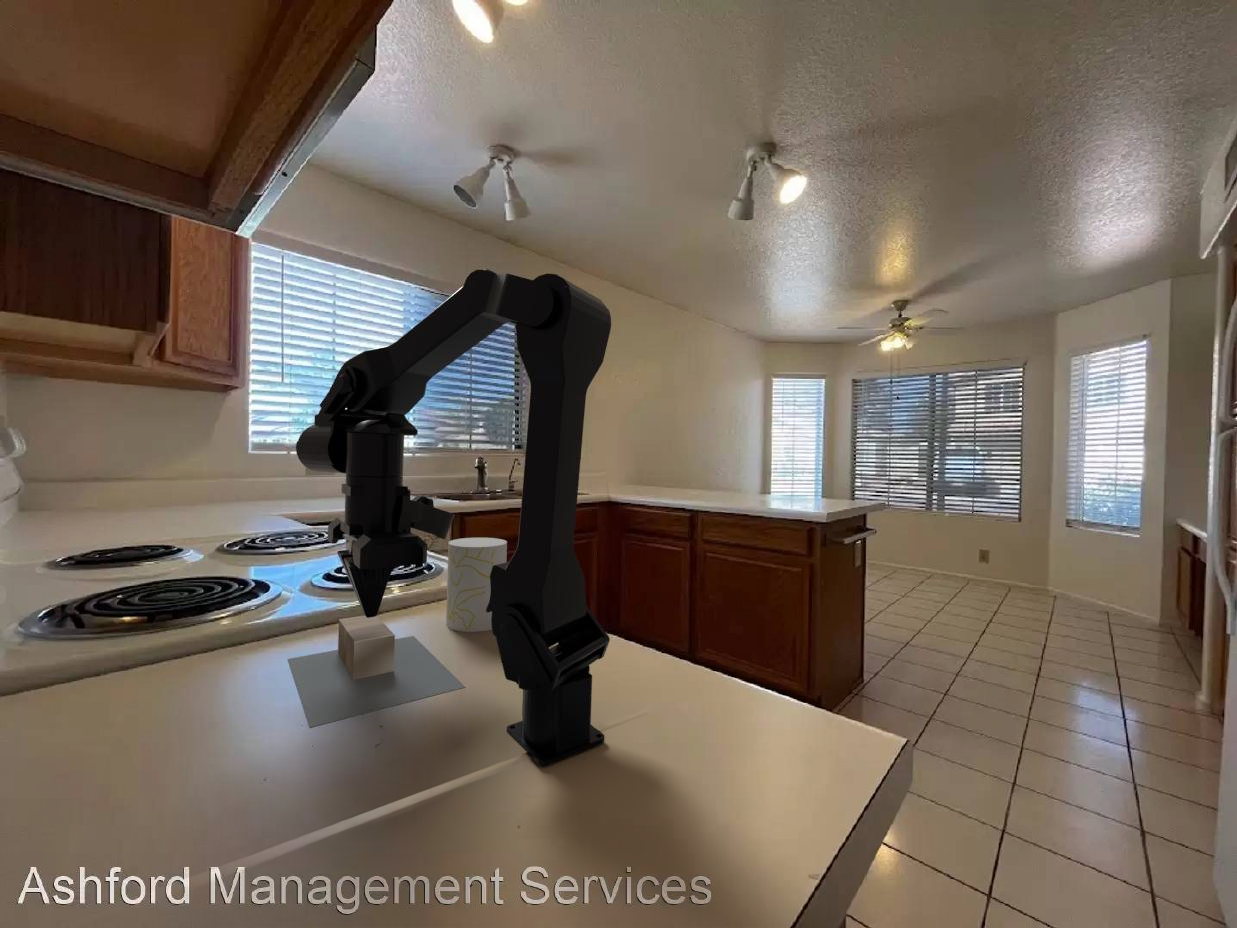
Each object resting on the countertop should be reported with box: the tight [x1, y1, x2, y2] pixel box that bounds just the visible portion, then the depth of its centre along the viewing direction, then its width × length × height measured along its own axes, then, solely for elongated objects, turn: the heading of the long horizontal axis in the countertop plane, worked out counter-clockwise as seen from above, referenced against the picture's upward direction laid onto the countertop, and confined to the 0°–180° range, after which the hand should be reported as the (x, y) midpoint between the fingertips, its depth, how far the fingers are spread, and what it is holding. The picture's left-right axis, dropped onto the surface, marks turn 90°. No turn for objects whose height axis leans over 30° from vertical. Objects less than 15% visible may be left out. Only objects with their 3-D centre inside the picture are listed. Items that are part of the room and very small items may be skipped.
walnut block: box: [337, 615, 396, 680], centre depth 59 cm, size 4×4×9 cm
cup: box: [445, 537, 508, 633], centre depth 74 cm, size 8×8×12 cm
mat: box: [287, 635, 466, 729], centre depth 56 cm, size 18×14×1 cm
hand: (370, 616), depth 57 cm, fingers closed
